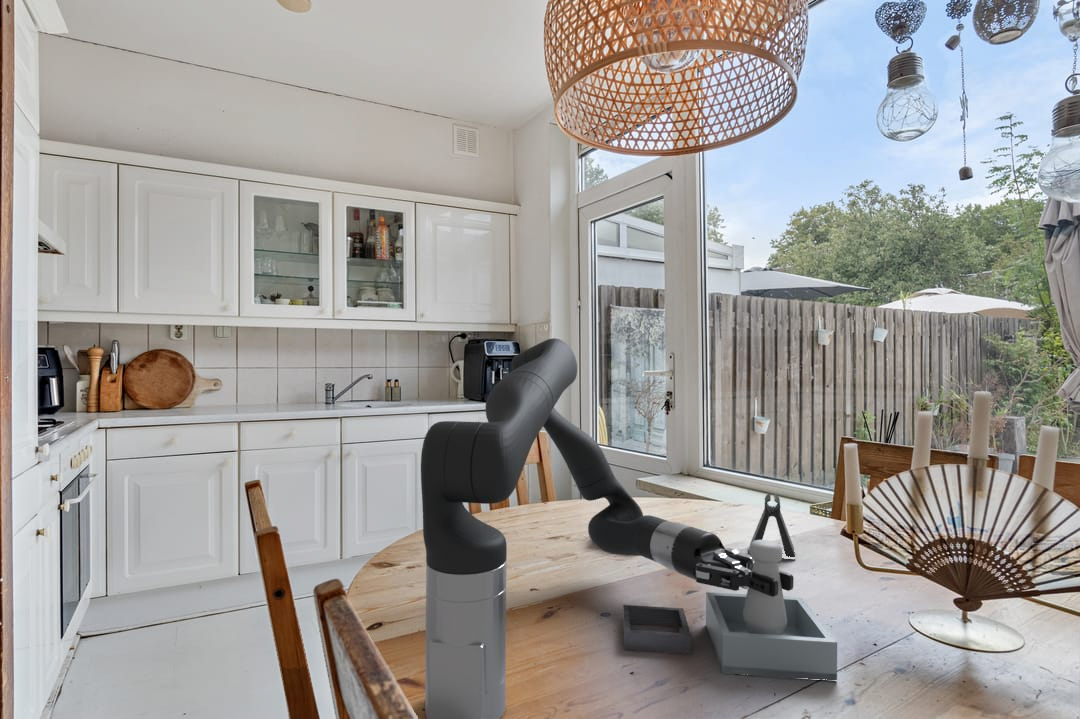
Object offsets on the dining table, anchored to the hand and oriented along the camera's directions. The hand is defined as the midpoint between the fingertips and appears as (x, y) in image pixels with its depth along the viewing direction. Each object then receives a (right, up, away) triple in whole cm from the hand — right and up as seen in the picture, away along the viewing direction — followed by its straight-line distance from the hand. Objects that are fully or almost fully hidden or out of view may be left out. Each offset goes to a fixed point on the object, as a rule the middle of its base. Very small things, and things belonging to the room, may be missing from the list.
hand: (784, 585), depth 79 cm
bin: (-2, -10, +2) cm, 10 cm away
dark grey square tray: (-16, -10, +6) cm, 20 cm away
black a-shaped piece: (+16, -10, +43) cm, 47 cm away
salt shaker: (-2, -8, +2) cm, 9 cm away
